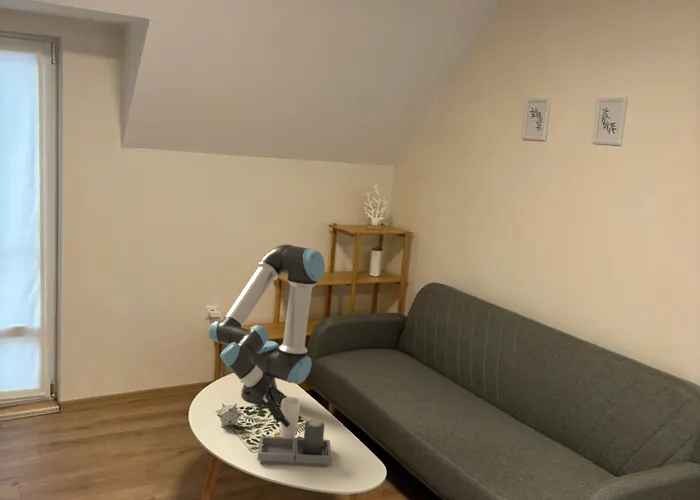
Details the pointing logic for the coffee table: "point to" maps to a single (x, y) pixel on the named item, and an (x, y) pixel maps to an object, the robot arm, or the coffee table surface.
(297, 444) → the divided desk organizer
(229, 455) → the coffee table surface
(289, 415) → the drinking glass
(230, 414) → the game die
